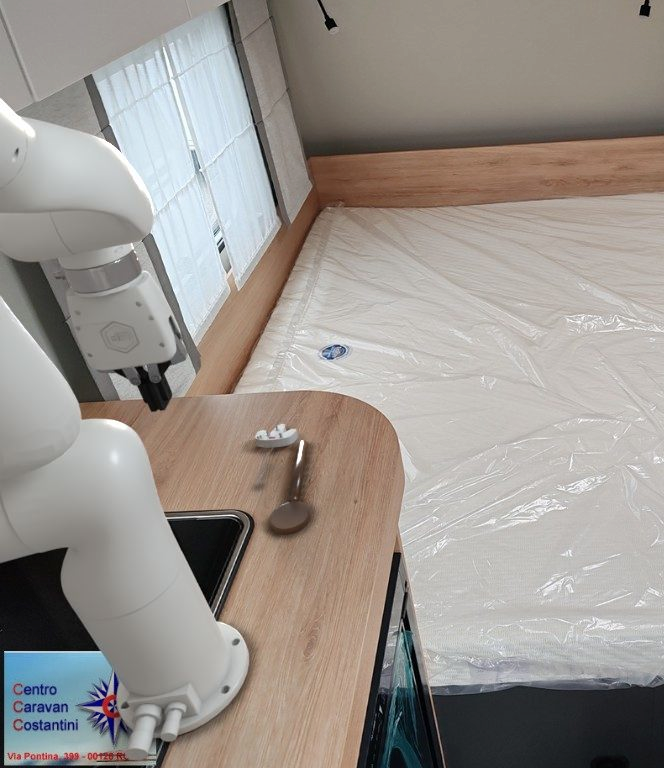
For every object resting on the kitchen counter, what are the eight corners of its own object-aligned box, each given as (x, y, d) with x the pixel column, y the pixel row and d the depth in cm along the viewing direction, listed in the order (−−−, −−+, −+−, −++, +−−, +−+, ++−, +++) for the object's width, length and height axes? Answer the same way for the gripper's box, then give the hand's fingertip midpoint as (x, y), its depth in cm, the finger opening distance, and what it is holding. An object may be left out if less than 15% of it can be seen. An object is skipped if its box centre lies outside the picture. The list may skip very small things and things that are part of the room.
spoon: (309, 531, 92) (306, 523, 91) (269, 537, 92) (266, 529, 91) (322, 443, 106) (319, 435, 105) (287, 448, 106) (285, 440, 105)
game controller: (298, 426, 110) (293, 412, 108) (302, 477, 100) (297, 462, 99) (258, 436, 108) (253, 421, 107) (258, 487, 99) (253, 473, 98)
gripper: (22, 294, 81) (90, 431, 91) (161, 275, 82) (214, 413, 92) (50, 267, 88) (112, 397, 98) (179, 249, 88) (227, 381, 98)
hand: (161, 404), depth 95 cm, fingers closed
